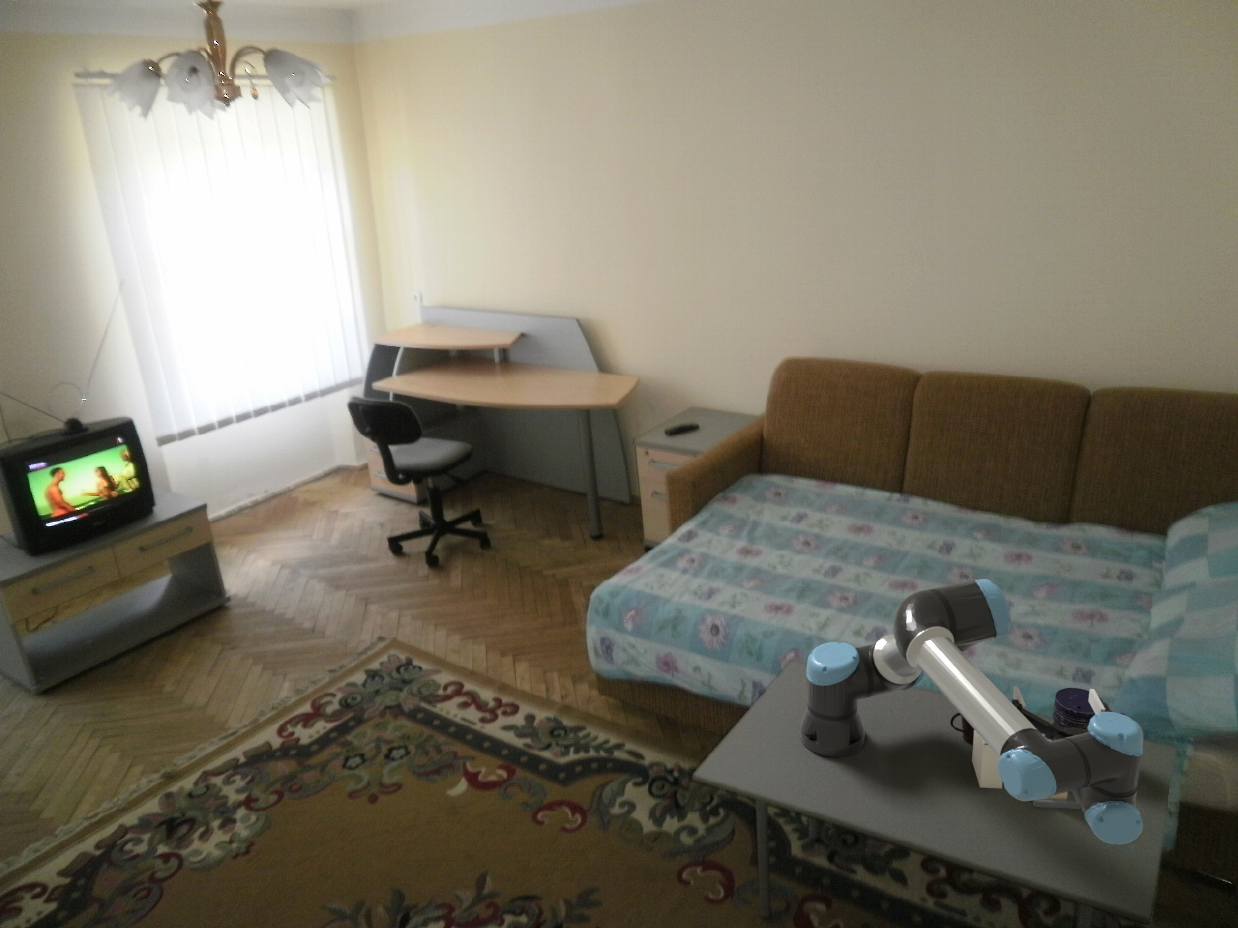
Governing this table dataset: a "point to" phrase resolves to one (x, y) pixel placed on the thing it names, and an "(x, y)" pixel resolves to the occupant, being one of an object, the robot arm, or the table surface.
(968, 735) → the coffee mug
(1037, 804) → the tray
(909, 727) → the table surface
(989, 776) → the cream box with panel
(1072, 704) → the storage jar
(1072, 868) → the table surface
